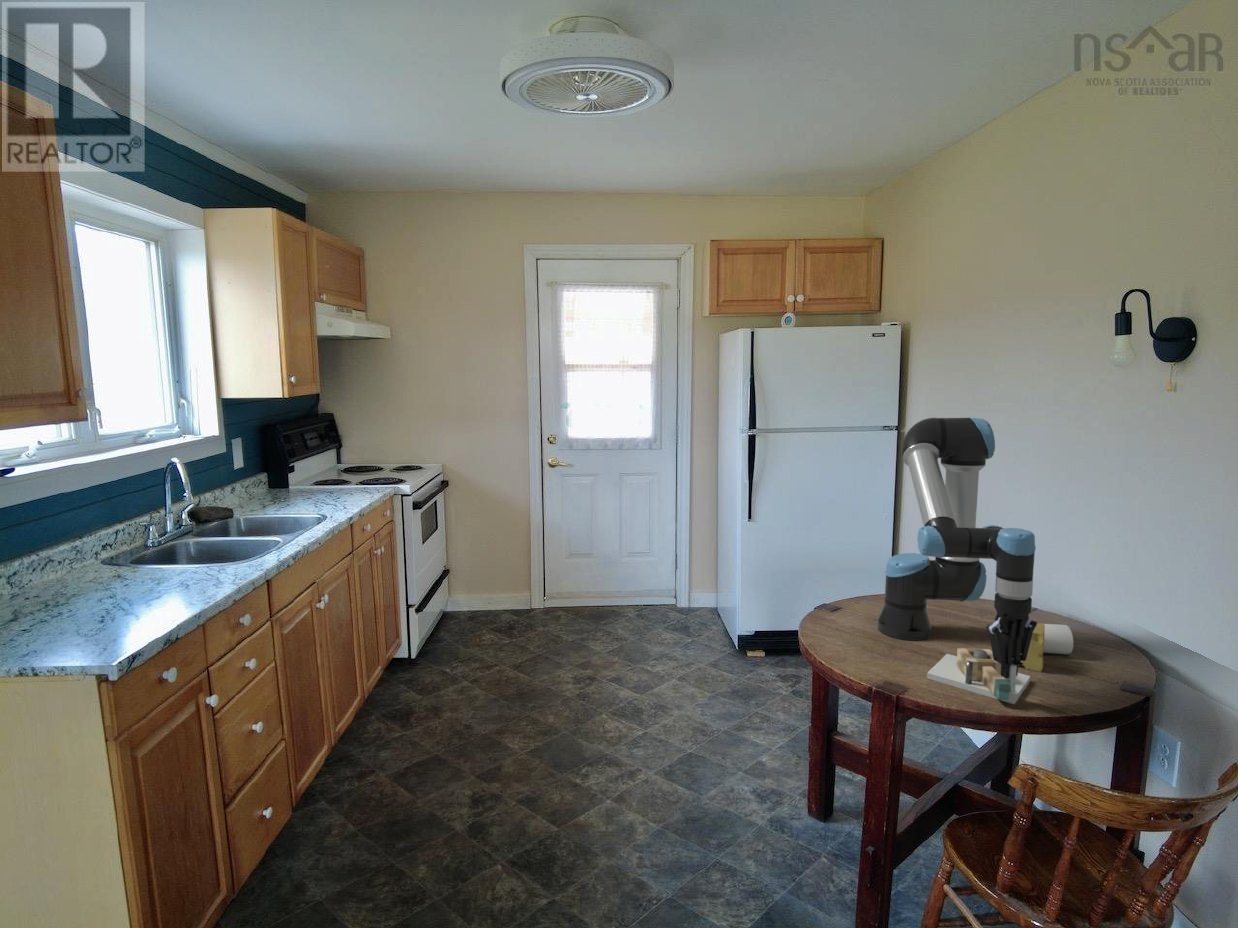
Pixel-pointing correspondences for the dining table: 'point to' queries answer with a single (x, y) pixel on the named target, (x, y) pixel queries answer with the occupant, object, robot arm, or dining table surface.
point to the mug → (1057, 639)
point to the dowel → (969, 672)
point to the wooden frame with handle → (984, 671)
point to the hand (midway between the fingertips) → (1008, 689)
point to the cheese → (1035, 650)
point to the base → (953, 676)
